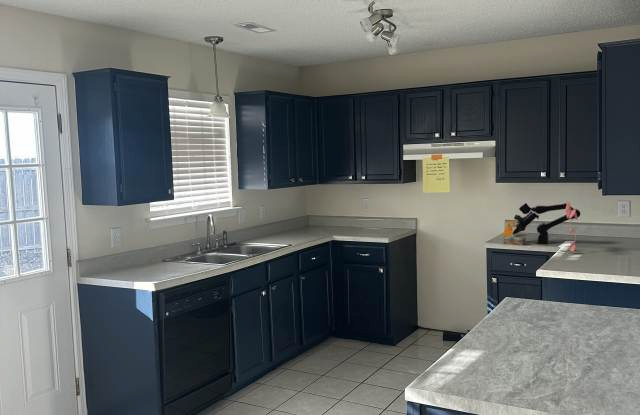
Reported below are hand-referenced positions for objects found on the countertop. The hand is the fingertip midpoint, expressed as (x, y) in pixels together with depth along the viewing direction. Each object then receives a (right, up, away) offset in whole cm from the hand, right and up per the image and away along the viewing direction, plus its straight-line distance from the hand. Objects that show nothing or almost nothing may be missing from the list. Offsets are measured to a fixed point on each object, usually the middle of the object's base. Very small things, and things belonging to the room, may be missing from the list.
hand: (512, 233), depth 452 cm
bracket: (+8, -4, +30) cm, 31 cm away
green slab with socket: (+1, -7, -3) cm, 8 cm away
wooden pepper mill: (+1, -7, 0) cm, 7 cm away
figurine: (+23, -11, -41) cm, 48 cm away
